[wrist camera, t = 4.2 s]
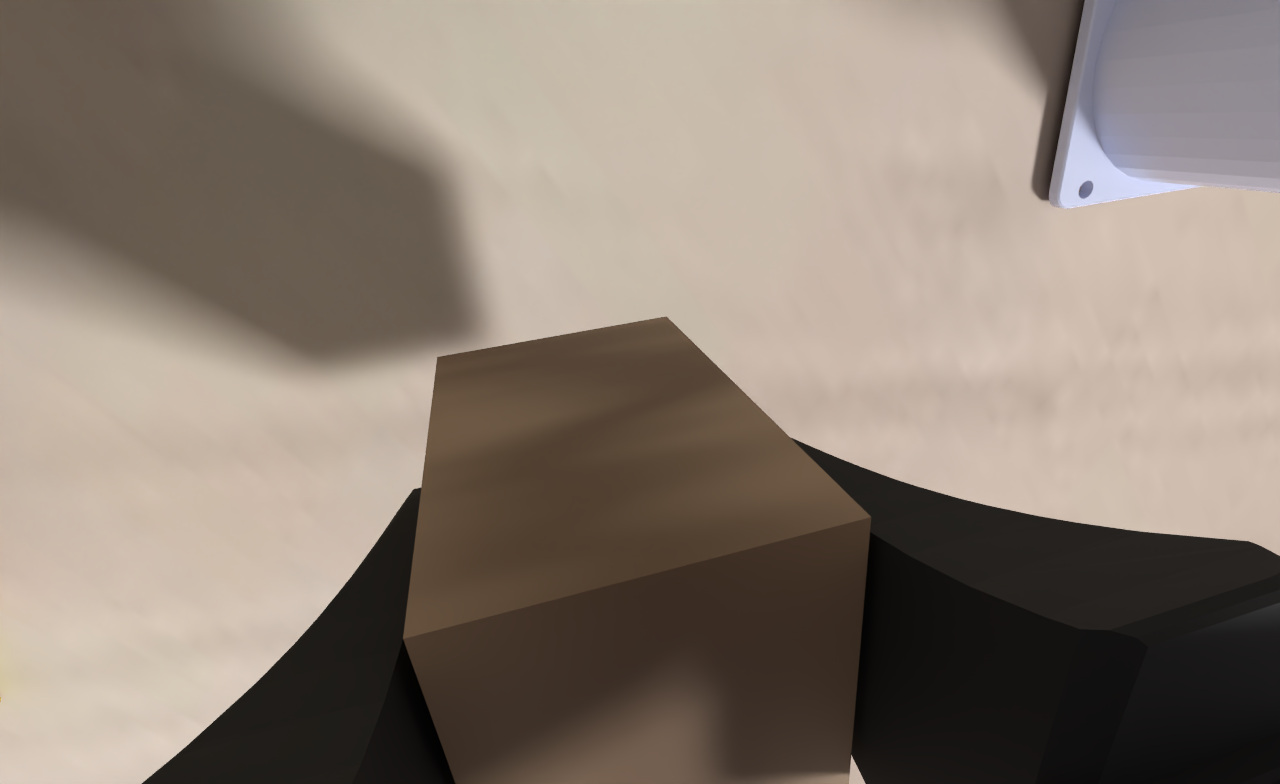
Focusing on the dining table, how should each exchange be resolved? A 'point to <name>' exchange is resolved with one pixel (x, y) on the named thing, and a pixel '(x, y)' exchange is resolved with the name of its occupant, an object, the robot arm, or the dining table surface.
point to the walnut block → (629, 572)
